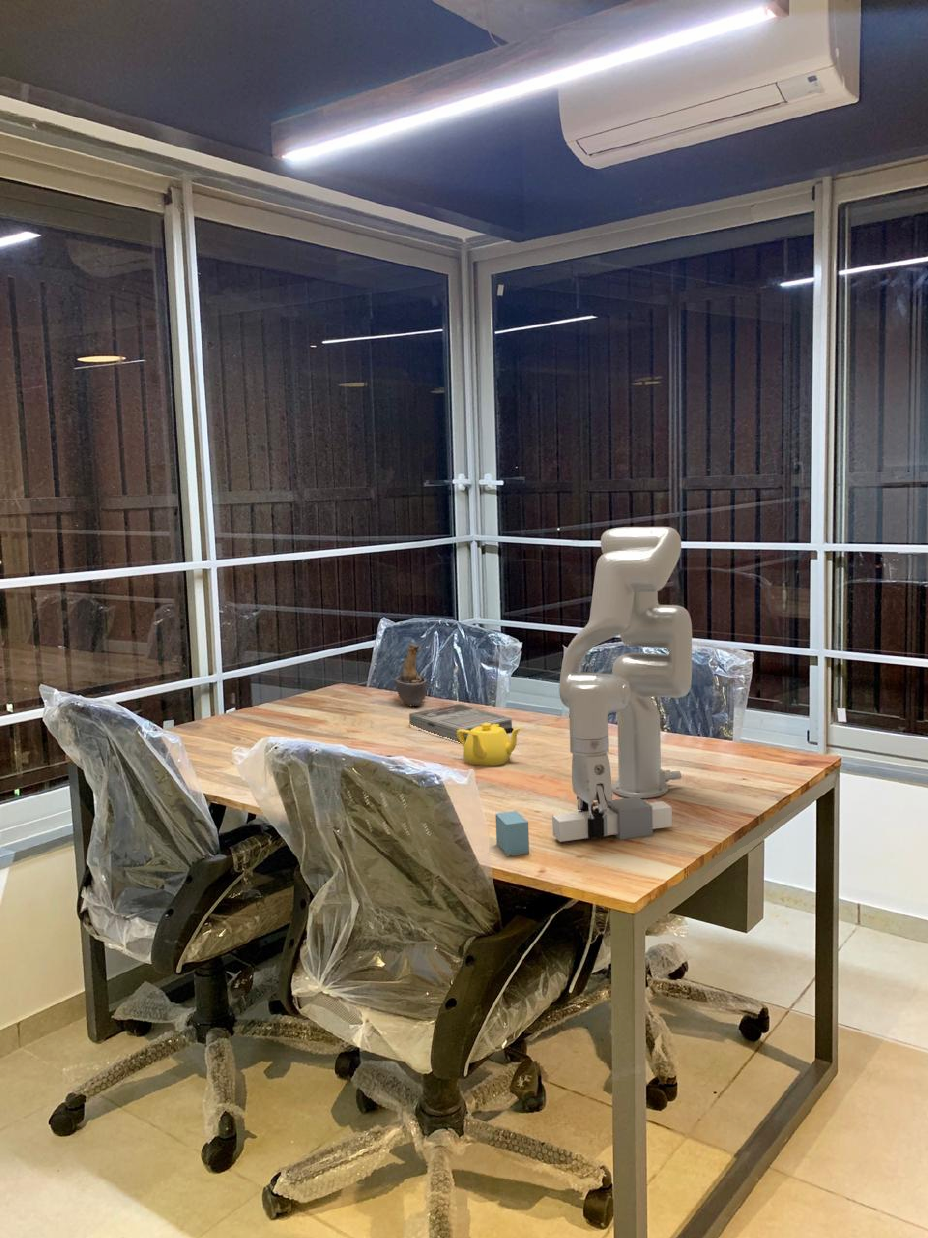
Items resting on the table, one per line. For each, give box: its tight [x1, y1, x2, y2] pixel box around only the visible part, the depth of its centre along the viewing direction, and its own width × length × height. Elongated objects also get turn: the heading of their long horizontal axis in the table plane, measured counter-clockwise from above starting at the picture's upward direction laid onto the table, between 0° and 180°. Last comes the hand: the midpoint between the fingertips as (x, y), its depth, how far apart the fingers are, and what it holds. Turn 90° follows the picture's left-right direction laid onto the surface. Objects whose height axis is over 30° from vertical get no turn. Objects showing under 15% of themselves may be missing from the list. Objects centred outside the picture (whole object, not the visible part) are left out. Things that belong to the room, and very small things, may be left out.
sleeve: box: [606, 797, 654, 841], centre depth 201 cm, size 7×7×6 cm
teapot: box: [457, 723, 523, 766], centre depth 256 cm, size 14×13×10 cm
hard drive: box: [408, 703, 515, 744], centre depth 291 cm, size 18×27×4 cm
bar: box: [551, 800, 673, 843], centre depth 200 cm, size 24×4×4 cm, turn 105°
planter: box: [394, 643, 428, 707], centre depth 325 cm, size 15×17×20 cm
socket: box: [495, 810, 530, 856], centre depth 195 cm, size 4×7×6 cm, turn 15°
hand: (591, 832), depth 199 cm, fingers closed on bar, 4 cm apart
